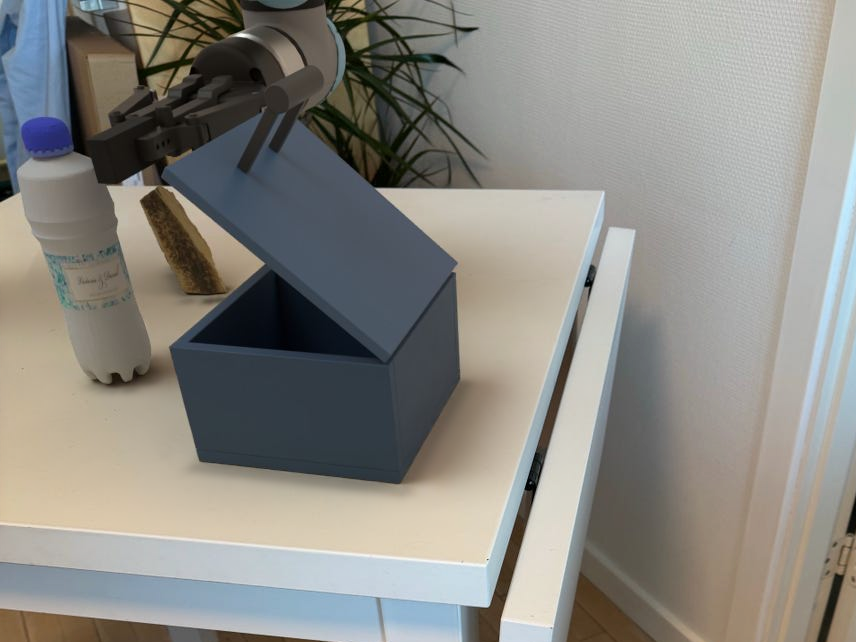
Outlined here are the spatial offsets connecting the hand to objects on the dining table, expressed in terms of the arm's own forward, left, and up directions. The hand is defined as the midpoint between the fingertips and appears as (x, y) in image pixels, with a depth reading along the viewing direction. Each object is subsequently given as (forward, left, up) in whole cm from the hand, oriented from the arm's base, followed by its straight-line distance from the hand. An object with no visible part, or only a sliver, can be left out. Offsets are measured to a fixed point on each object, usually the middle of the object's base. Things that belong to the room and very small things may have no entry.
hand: (101, 162), depth 61 cm
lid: (+14, +3, -4) cm, 15 cm away
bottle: (-9, +7, -19) cm, 22 cm away
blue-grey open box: (+13, +3, -19) cm, 23 cm away
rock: (-13, +29, -19) cm, 37 cm away
